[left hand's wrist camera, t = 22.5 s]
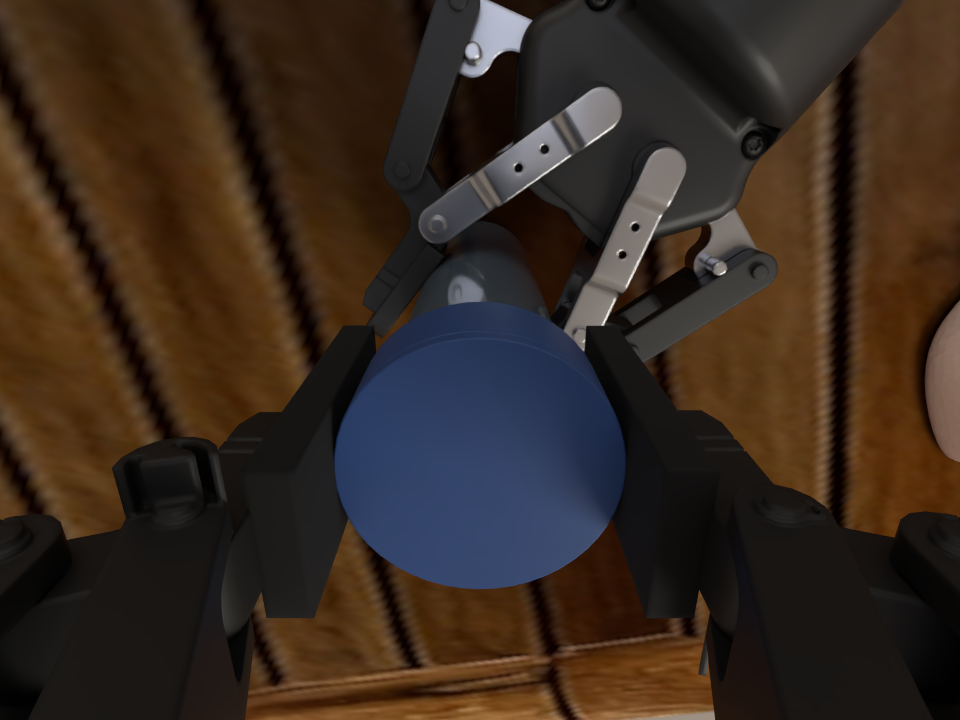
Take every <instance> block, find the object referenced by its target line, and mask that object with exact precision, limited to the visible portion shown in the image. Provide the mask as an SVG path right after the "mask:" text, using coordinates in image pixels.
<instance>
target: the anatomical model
mask: <svg viewBox="0 0 960 720" xmlns="http://www.w3.org/2000/svg"><path fill="white" fill-rule="evenodd" d="M925 396H926V402H927V408H928V414H929V418H930V422H931V426H932V430H933V433H934V435H935V438H936V441H937V443H938V445H939V447H940V448H941V450H942V451H943V452H944V453H945V455H947V456H948V457H949V458H951V459H953V460H955V461H958V462H960V301H959V302H958V303H957V304H956V305H955V307H954V308H953V309H952V310H951V311H950V313H949V314H948V315H947V316H946V318H945V319H944V320H943V322H942V323H941V325H940V327H939V328H938V330H937V332H936V334H935V336H934V338H933V340H932V343H931V346H930V349H929V352H928V356H927V362H926V371H925Z"/></svg>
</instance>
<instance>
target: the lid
mask: <svg viewBox="0 0 960 720" xmlns="http://www.w3.org/2000/svg"><path fill="white" fill-rule="evenodd" d="M334 469H335V478H336V486H337V491H338V495H339V498H340V501H341V504H342V506H343V508H344V510H345V512H346V514H347V516H348V519H349V520H350V522H351V523H352V525H353V526H354V528H355V529H356V531H357V532H358V533H359V534H360V536H361V537H362V538H363V539H364V540H365V541H366V542H367V544H368V545H369V546H371V547H372V548H373V549H374V550H375V551H376V552H377V553H378V554H379V555H381V556H382V557H383V558H385V559H386V560H388V561H389V562H391V563H392V564H393V565H395V566H397V567H399V568H401V569H402V570H404V571H406V572H408V573H410V574H412V575H415V576H417V577H420V578H422V579H425V580H428V581H431V582H435V583H438V584H442V585H447V586H453V587H459V588H471V589H489V588H500V587H508V586H513V585H518V584H522V583H526V582H529V581H532V580H535V579H538V578H541V577H543V576H546V575H548V574H550V573H552V572H554V571H556V570H558V569H560V568H562V567H563V566H565V565H566V564H568V563H570V562H571V561H573V560H574V559H575V558H577V557H578V556H579V555H580V554H582V553H583V552H584V551H585V550H587V549H588V548H589V547H590V546H591V545H592V543H593V542H594V541H595V540H596V539H597V538H598V537H599V536H600V535H601V533H602V532H603V531H604V529H605V528H606V527H607V525H608V524H609V522H610V520H611V518H612V516H613V515H614V513H615V511H616V509H617V506H618V504H619V501H620V498H621V496H622V492H623V488H624V481H625V472H626V446H625V441H624V437H623V433H622V429H621V426H620V424H619V422H618V419H617V417H616V414H615V412H614V410H613V408H612V406H611V404H610V402H609V400H608V398H607V396H606V393H605V391H604V389H603V387H602V385H601V383H600V381H599V379H598V377H597V375H596V373H595V371H594V369H593V367H592V365H591V363H590V362H589V360H588V358H587V357H586V355H585V353H584V352H583V351H582V349H581V348H580V347H579V346H578V345H577V343H576V342H575V341H574V340H573V339H572V338H571V337H570V336H569V335H568V334H567V333H565V332H564V331H563V330H562V329H561V328H559V327H558V326H556V325H555V324H554V323H552V322H551V321H549V320H547V319H545V318H543V317H542V316H540V315H538V314H536V313H534V312H531V311H528V310H525V309H523V308H520V307H516V306H512V305H507V304H503V303H494V302H465V303H458V304H452V305H448V306H444V307H441V308H438V309H434V310H432V311H429V312H427V313H425V314H423V315H420V316H418V317H416V318H415V319H413V320H411V321H410V322H408V323H407V324H405V325H403V326H402V327H401V328H400V329H398V330H397V331H396V332H395V333H394V334H392V335H391V336H390V337H389V338H388V339H387V340H386V341H385V343H384V344H383V345H382V346H381V347H380V348H379V350H378V351H377V352H376V354H375V355H374V357H373V358H372V360H371V362H370V364H369V366H368V368H367V370H366V372H365V374H364V376H363V378H362V380H361V382H360V384H359V386H358V388H357V390H356V392H355V394H354V396H353V399H352V401H351V403H350V405H349V407H348V409H347V411H346V413H345V415H344V417H343V419H342V421H341V424H340V427H339V431H338V434H337V437H336V442H335V449H334Z"/></svg>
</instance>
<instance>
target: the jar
mask: <svg viewBox="0 0 960 720" xmlns="http://www.w3.org/2000/svg"><path fill="white" fill-rule="evenodd" d="M447 244H448V246H447V250H446V253H445V257H444V258H443V259H442V261H441V262H440V263H439V265H438V266H437V267H436V269H435V270H434V271H433V272H432V274H431V275H430V276H429V277H428V278H427V280H426V281H425V283H424V284H423V286H422V287H421V289H420V292H419V294H418V297H417V299H416V302H415V305H414V307H413V310H412V312H411V315H410V318H409V320H408V322H410V321H411V320H413V319H415V318H416V317H418V316H420V315H423V314H425V313H427V312H429V311H432V310H434V309H438V308H441V307H444V306H448V305H452V304H458V303H465V302H494V303H503V304H507V305H512V306H516V307H520V308H523V309H525V310H528V311H531V312H534V313H536V314H538V315H540V316H542V317H543V318H545V319H547V320H549V321H551V322H552V320H551V317H550V315H549V312H548V309H547V307H546V304H545V302H544V299H543V296H542V294H541V291H540V289H539V286H538V284H537V281H536V278H535V276H534V273H533V271H532V268H531V265H530V263H529V260H528V258H527V255H526V253H525V250H524V248H523V246H522V244H521V243H520V241H519V240H518V239H517V238H516V237H515V236H514V235H513V234H512V233H511V232H510V231H509V230H507V229H506V228H504V227H502V226H500V225H497V224H495V223H491V222H484V221H476V222H474V223H473V224H471V225H470V226H469V227H467V228H466V229H464V230H463V231H462V232H460V233H459V234H457V235H456V236H454V237H453V238H452V239H450V240H449V241H448V242H447ZM552 323H553V322H552Z"/></svg>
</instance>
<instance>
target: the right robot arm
mask: <svg viewBox="0 0 960 720" xmlns="http://www.w3.org/2000/svg"><path fill="white" fill-rule="evenodd" d="M905 1H906V0H564V1H562V2H561V3H559V4H557V5H556V6H553V7H551V8H549V9H547V10H545V11H543V12H541V13H540V14H539V15H537V16H536V17H535V18H534V19H533V20H530V19H528V18H526V17H524V16H522V15H520V14H517V13H515V12H513V11H511V10H509V9H507V8H504V7H502V6H500V5H498V4H496V3H494V2H492V1H489V0H435V2H434V5H433V8H432V11H431V15H430V18H429V21H428V24H427V27H426V31H425V34H424V37H423V40H422V43H421V46H420V50H419V53H418V56H417V59H416V62H415V65H414V69H413V72H412V75H411V78H410V81H409V85H408V88H407V91H406V94H405V97H404V100H403V104H402V107H401V110H400V113H399V116H398V120H397V123H396V126H395V129H394V132H393V135H392V139H391V142H390V145H389V148H388V151H387V155H386V158H385V161H384V165H383V174H384V177H385V179H386V181H387V183H388V184H389V185H390V186H391V187H393V188H394V189H395V190H396V192H397V193H398V195H399V196H400V198H401V199H402V201H403V202H404V204H405V205H406V207H407V209H408V211H409V214H410V227H409V230H408V232H407V234H406V236H405V237H404V238H403V240H402V241H401V242H400V244H399V245H398V247H397V248H396V249H395V251H394V252H393V253H392V255H391V256H390V258H389V259H388V260H387V262H386V263H385V265H384V266H383V267H382V269H381V270H380V271H379V273H378V274H377V276H376V277H375V278H374V280H373V281H372V283H371V284H370V285H369V287H368V288H367V289H366V293H365V297H364V302H363V305H364V306H365V307H367V308H368V309H369V310H371V311H372V312H374V313H373V315H372V316H371V318H370V320H369V321H368V323H367V325H366V326H374V331H375V334H377V335H378V336H380V337H381V338H383V337H384V336H385V334H386V333H387V332H388V330H389V329H390V328H391V326H392V325H393V324H394V323H395V321H396V320H397V319H398V317H399V316H400V315H401V313H402V312H403V311H404V309H405V308H406V307H407V305H408V304H409V303H410V301H411V300H412V299H413V298H414V296H415V295H416V294H417V292H418V291H419V290H420V288H421V287H422V286H423V284H424V283H425V281H426V280H427V278H428V277H429V276H430V275H431V274H432V272H433V271H434V270H435V269H436V267H437V266H438V265H439V263H440V262H441V261H442V259H443V258H444V257H445V253H446V250H447V246H448V244H447V242H448V241H449V240H450V239H452V238H453V237H454V236H456V235H457V234H459V233H460V232H462V231H463V230H464V229H466V228H467V227H469V226H470V225H471V224H473V223H474V222H476V221H477V220H479V219H480V218H481V217H483V216H484V215H486V214H487V213H489V212H490V211H492V210H493V209H495V208H498V207H499V206H501V205H503V204H504V203H506V202H507V201H509V200H510V199H512V198H513V197H514V196H516V195H517V194H519V193H520V192H522V191H523V190H524V189H526V188H527V187H528V188H529V189H530V190H531V191H533V192H534V193H535V194H536V195H537V196H539V197H540V198H541V199H542V200H543V201H545V202H547V203H550V204H552V205H554V206H556V207H559V208H561V209H563V211H564V212H565V213H566V215H567V216H568V218H569V219H570V221H571V222H572V224H573V225H574V226H576V227H577V228H578V229H579V230H580V231H581V232H582V233H583V234H584V236H583V239H582V241H581V243H580V246H579V248H578V250H577V253H576V255H575V259H574V264H573V269H572V272H571V274H570V276H569V278H568V281H567V283H566V285H565V288H564V290H563V292H562V294H561V297H560V299H559V301H558V304H557V306H556V308H555V311H554V313H553V315H552V316H551V320H552V322H553V323H554V324H555V325H556V326H558V327H559V328H561V329H562V330H563V331H564V332H565V333H567V334H568V335H569V336H570V337H571V338H572V339H573V340H574V341H575V342H576V343H577V345H578V346H579V347H580V348H581V349H582V351H583V352H584V349H585V336H586V326H617V327H618V328H619V330H620V331H621V333H622V334H623V335H624V337H625V338H626V340H627V341H628V342H629V344H630V345H631V347H632V348H633V349H634V351H635V352H636V354H637V355H638V356H639V358H640V359H641V360H642V362H643V363H644V362H646V361H648V360H649V359H651V358H652V357H654V356H656V355H657V354H659V353H660V352H662V351H664V350H665V349H667V348H668V347H670V346H672V345H673V344H675V343H677V342H678V341H680V340H681V339H683V338H685V337H686V336H688V335H689V334H691V333H693V332H694V331H696V330H697V329H699V328H701V327H702V326H704V325H706V324H707V323H709V322H710V321H712V320H714V319H715V318H717V317H718V316H720V315H722V314H723V313H725V312H726V311H728V310H730V309H731V308H733V307H735V306H736V305H738V304H739V303H741V302H743V301H744V300H746V299H747V298H749V297H751V296H752V295H754V294H755V293H757V292H759V291H760V290H762V289H764V288H765V287H767V286H768V285H770V284H771V283H772V282H773V280H774V279H775V277H776V275H777V272H778V265H777V262H776V260H775V259H774V257H772V256H771V255H769V254H767V253H764V252H763V251H761V250H759V249H758V248H756V246H755V244H754V243H753V241H752V239H751V237H750V235H749V233H748V231H747V230H746V228H745V226H744V224H743V222H742V220H741V218H740V217H739V215H738V213H737V211H736V209H735V207H736V206H737V204H738V203H739V201H740V199H741V197H742V194H743V191H744V188H745V184H746V181H747V179H748V176H749V174H750V172H751V170H752V168H753V167H754V165H755V164H756V162H757V161H758V160H759V158H760V157H761V156H762V155H763V154H764V153H765V152H766V151H767V150H768V149H770V148H771V147H772V146H773V145H774V144H775V143H776V142H777V141H778V140H779V139H780V138H781V137H782V136H783V135H784V134H785V133H786V132H787V131H788V130H789V128H790V127H791V126H792V125H793V124H794V123H795V122H796V121H797V120H798V119H799V117H800V116H801V115H802V114H803V113H804V112H805V111H806V110H807V109H808V108H809V106H810V105H811V104H812V103H813V102H814V101H815V100H816V99H817V98H818V97H819V95H820V94H821V93H822V92H823V91H824V90H825V89H826V88H827V87H828V86H829V84H830V83H831V82H832V81H833V80H834V79H835V78H836V77H837V76H838V75H839V73H840V72H841V71H842V70H843V69H844V68H845V67H846V66H847V65H848V64H849V62H850V61H851V60H852V59H853V58H854V57H855V56H856V55H857V54H858V53H859V51H860V50H861V49H862V48H863V47H864V46H865V45H866V44H867V43H868V41H869V40H870V39H871V38H872V37H873V36H874V35H875V34H876V33H877V32H878V30H879V29H880V28H881V27H882V26H883V25H884V24H885V23H886V22H887V21H888V19H889V18H890V17H891V16H892V15H893V14H894V13H895V12H896V11H897V10H898V8H899V7H900V6H901V5H902V4H903V3H904V2H905ZM505 55H514V56H517V57H518V58H517V77H516V96H515V115H514V134H513V141H512V142H510V143H509V144H508V145H506V146H505V147H503V148H502V149H501V150H499V151H498V152H497V153H495V154H494V155H492V156H491V157H490V158H488V159H487V160H486V161H484V162H483V163H482V164H480V165H479V166H478V167H476V168H475V169H474V170H473V171H471V172H470V173H469V174H467V175H466V176H465V177H463V178H462V179H461V180H459V181H458V182H456V183H455V184H454V185H452V186H451V187H450V188H448V189H447V190H445V188H444V187H443V185H442V184H441V182H440V180H439V179H438V177H437V176H436V174H435V172H434V171H433V169H432V168H431V164H432V161H433V158H434V155H435V152H436V149H437V146H438V143H439V140H440V137H441V135H442V132H443V129H444V126H445V123H446V120H447V117H448V114H449V111H450V108H451V106H452V103H453V100H454V97H455V94H456V91H457V88H458V85H459V82H460V79H461V77H463V78H466V79H469V80H478V79H480V78H482V77H484V76H485V75H486V74H487V73H488V72H489V70H490V68H491V66H492V64H493V63H494V62H495V61H496V60H497V59H498V58H500V57H502V56H505ZM700 226H702V231H701V235H700V237H699V239H698V241H697V242H696V243H695V244H694V245H693V246H692V247H691V248H690V249H689V250H688V251H687V253H686V256H685V267H684V268H682V269H681V270H679V271H678V272H676V273H675V274H673V275H672V276H670V277H668V278H667V279H665V280H664V281H662V282H661V283H659V284H658V285H656V286H655V287H653V288H652V289H650V290H648V291H647V292H645V293H644V294H642V295H641V296H639V297H638V298H636V299H635V300H633V301H632V302H630V303H629V304H627V305H625V306H624V307H622V308H621V309H619V310H618V311H616V312H615V313H613V314H610V312H611V310H612V308H613V305H614V303H615V301H616V299H617V298H618V297H619V296H620V295H622V294H623V293H624V292H625V291H626V289H627V287H628V286H629V284H630V281H631V279H632V277H633V275H634V273H635V271H636V269H637V267H638V265H639V263H640V261H641V259H642V256H643V254H644V252H645V250H646V248H647V246H648V244H649V242H650V241H651V240H654V239H658V238H662V237H665V236H669V235H672V234H676V233H679V232H683V231H686V230H690V229H693V228H697V227H700ZM621 251H623V253H622V255H620V256H619V253H620V252H621Z"/></svg>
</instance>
